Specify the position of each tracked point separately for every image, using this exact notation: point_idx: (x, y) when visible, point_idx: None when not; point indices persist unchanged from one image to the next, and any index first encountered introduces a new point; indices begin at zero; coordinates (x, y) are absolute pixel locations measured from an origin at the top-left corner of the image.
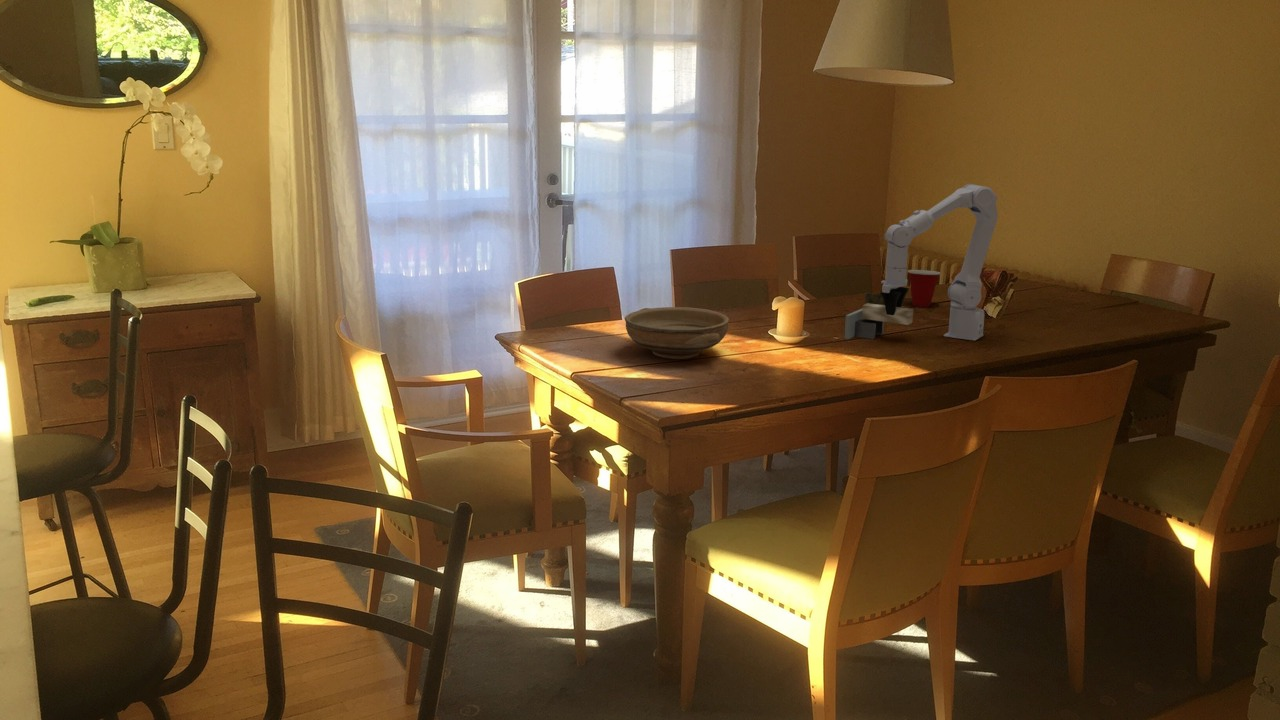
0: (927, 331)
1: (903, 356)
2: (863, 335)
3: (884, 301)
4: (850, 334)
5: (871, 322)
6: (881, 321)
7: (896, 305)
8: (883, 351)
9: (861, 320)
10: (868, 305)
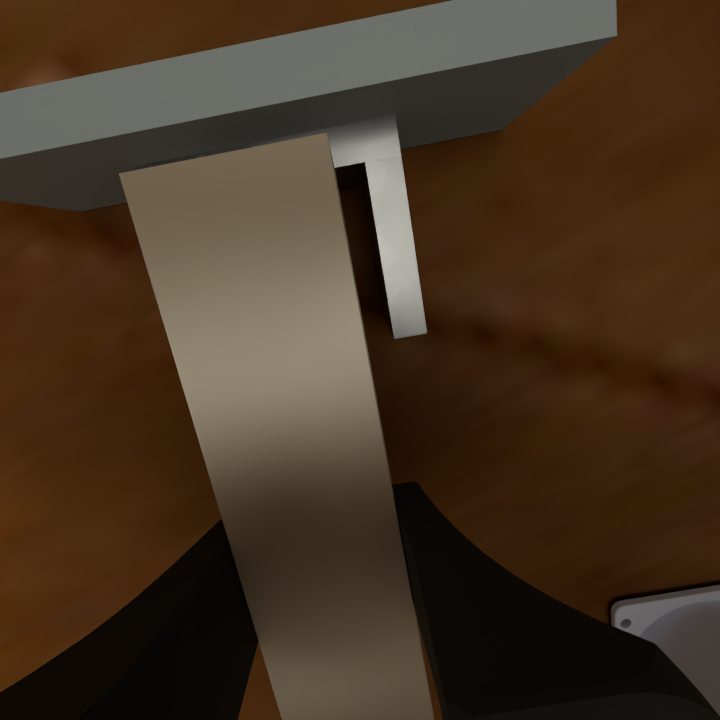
0: (698, 468)
1: (36, 668)
2: None
3: (98, 633)
4: (97, 200)
5: (373, 222)
6: (391, 324)
7: (414, 584)
8: (27, 550)
9: None
10: (183, 253)
